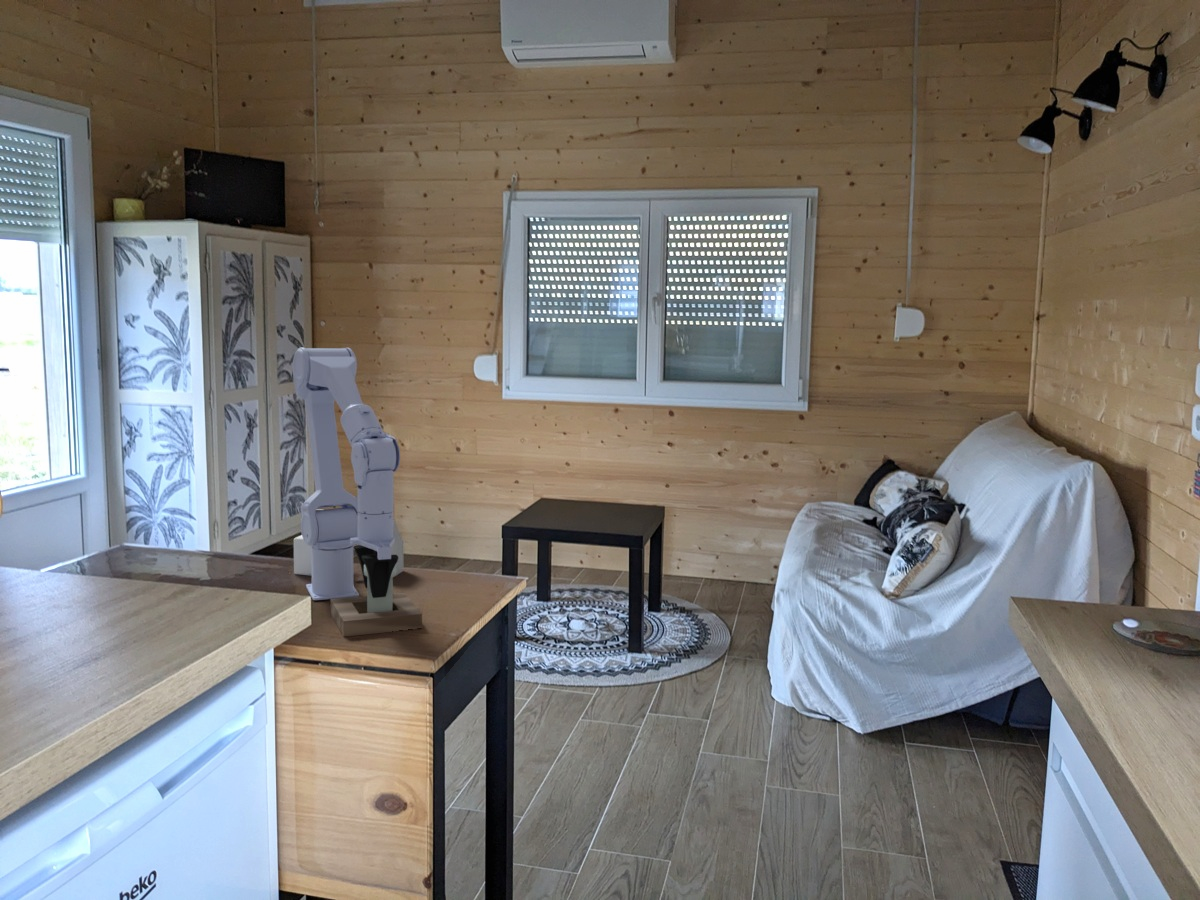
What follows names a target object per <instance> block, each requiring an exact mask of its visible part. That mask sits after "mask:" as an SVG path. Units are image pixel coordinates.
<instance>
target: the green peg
mask: <svg viewBox="0 0 1200 900" xmlns="http://www.w3.org/2000/svg"><path fill="white" fill-rule="evenodd" d="M364 575H365V576H367V589H366V592H367V593H366V596H367V613H374V612H385V611H393V594H394V593H393V588H394V585H393V584H394V583H393V582H394V581H393V580H394V579H393V578H394V577H395V576H394V575H396V565H395V566H394V569H393V571H392V574H391V577H390V581H389V586H388V590H387V594H386V597H378V598H373V597H372V594H371V589H370V582H369V576H368V572H367V568H366V566H365V564H364ZM393 576H394V577H393ZM396 576H397V575H396Z"/></svg>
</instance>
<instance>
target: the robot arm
mask: <svg viewBox="0 0 1200 900" xmlns="http://www.w3.org/2000/svg"><path fill="white" fill-rule="evenodd" d="M357 364H358V361H357V356H356V354H355V352H354V351H353V350H352V348H350V347H349V346H348V347H346V346H345V347H344V348H343V347H342V348H335V347H333V348H330V347H329V348H325V347H324V348H323V347H321V348H319V347H318V348H314V347H312V348H311V347H310V348H309V347H308V348H307V347H306V348H305V347H304V346H303V347H301V346H300V347H299V348H297V350H296V351H295V352H294V355H293V361H292V365H291V367H292V375H293V377H292V378H293V385H294V389H295V390H294V391H295V395H296V396H297V397H298V398H299V399H302V400H304V407H305V412H306V422H307V428H308V429H307V430H308V438H309V446H310V453H311V454H310V455H311V463H312V471H313V472H312V473H313V480H314V488H315V489H314V490H315V491H314V492H313V494H311V495H310V496H309V497H308V498H307V499H306V500H305V501H304V502H303V503H302V505H301V508H300V509H301V520H300V532H301V535H302V537H303V539H304V541H305V542H306V543H307V544H308V545H309V546H311V547H312V554H311V571H312V576H311V583H306V584H305V587H306V590H307V591H308V593H309V595H310V598H311V599H312V600H313V601H322V600H323V601H324V600H331V599H339V598H350V597H360V593H359V592H358V590H357V589H356V587H355V585H354V552H355V554H356V556H357V558H358V561H359V564H360V567H361V573H362V579H363V584H364V586H365V589H366V590H367V576H365V575H364V564H365V566H366V568H367V572H368V576H369V582H370V589H371V594H372V597H373V598H378V597H386V594H387V590H388V586H389V581H390V577H391V574H392V571H393V569H394V566H395V565H396V563H397V561H398V556H397V555H391V547H392V545H393V543H394V541H395V537H394V536H393V521H394V472H397V471H398V469H399V467H400V462H401V449H400V446H399V444H398V441H397V438H395V436H393V435H390V433H389V432H388V433H387V432H384V429H383V427H382V426H381V423H380V422H379V419H378V418H377V416H376V413H375V412H374V411H375V410H374V409H373V408H372V407H371V406H370V405H367V404H365V403H363V401H362V398H361V394H360V391H359V389H358V388H359V387H358V386H357V383H356V375H357V371H358V365H357ZM335 402H336V404H337V405H338V407H339V409H340V410H341V412H342V414H341V416H340V420H339V421H340V424H341V427H342V429H343V431H344V433H345V436H346V439H347V440H348V443H349V445H350V447H351V453H350V461H351V466H352V470H353V480H354V483H355V484H357V487H356V488H357V490H356V491H357V497H356V496H354V495H353V494H352V493H350V492H348V491H347V490H346V489H345V488H344V481H343V471H342V462H341V456H340V455H341V454H340V446H339V440H338V439H339V438H338V437H339V436H338V430H337V421H336V414H335V413H336V412H335V405H334V404H335ZM332 507H337V508H332ZM322 508H323V509H324V508H325V509H324V510H316V509H322Z"/></svg>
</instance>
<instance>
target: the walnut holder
mask: <svg viewBox="0 0 1200 900" xmlns="http://www.w3.org/2000/svg"><path fill="white" fill-rule="evenodd" d="M330 615H331V617H332V619H333V621H334V622H335V624H336V626H337V627H338V629H339V631H340V633H341V635H342V637H351V636H352V637H354V636H361V635H363V636H364V635H372V634H382V633H392V631H393V632H400V631H399V630H403V631H409V630H408V629H413V630H418V629H417V628H422V629H423V612H421V611H420V609H419V608H418V607H417V606H416V605H415V603H414V602H413V601H412V600H411V599H410V598H409V596H408V595H407V594H406V593H405V592H400V593H399V592H397V593H393V611H385V612H374V613H367V595H365V596H358V597H348V598H337V599H330Z"/></svg>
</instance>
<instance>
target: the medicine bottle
mask: <svg viewBox="0 0 1200 900" xmlns="http://www.w3.org/2000/svg"><path fill="white" fill-rule="evenodd" d="M316 510H324V508H323V509H322V508H317V509H316ZM311 554H312V547H311V546H309V545H308V544H307V543H306V542H305V541H304V539H303V537H302V534H301V535H298V536H296V537H294V538H293V574H294V575H300V576H310V577H312V571H311Z"/></svg>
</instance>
